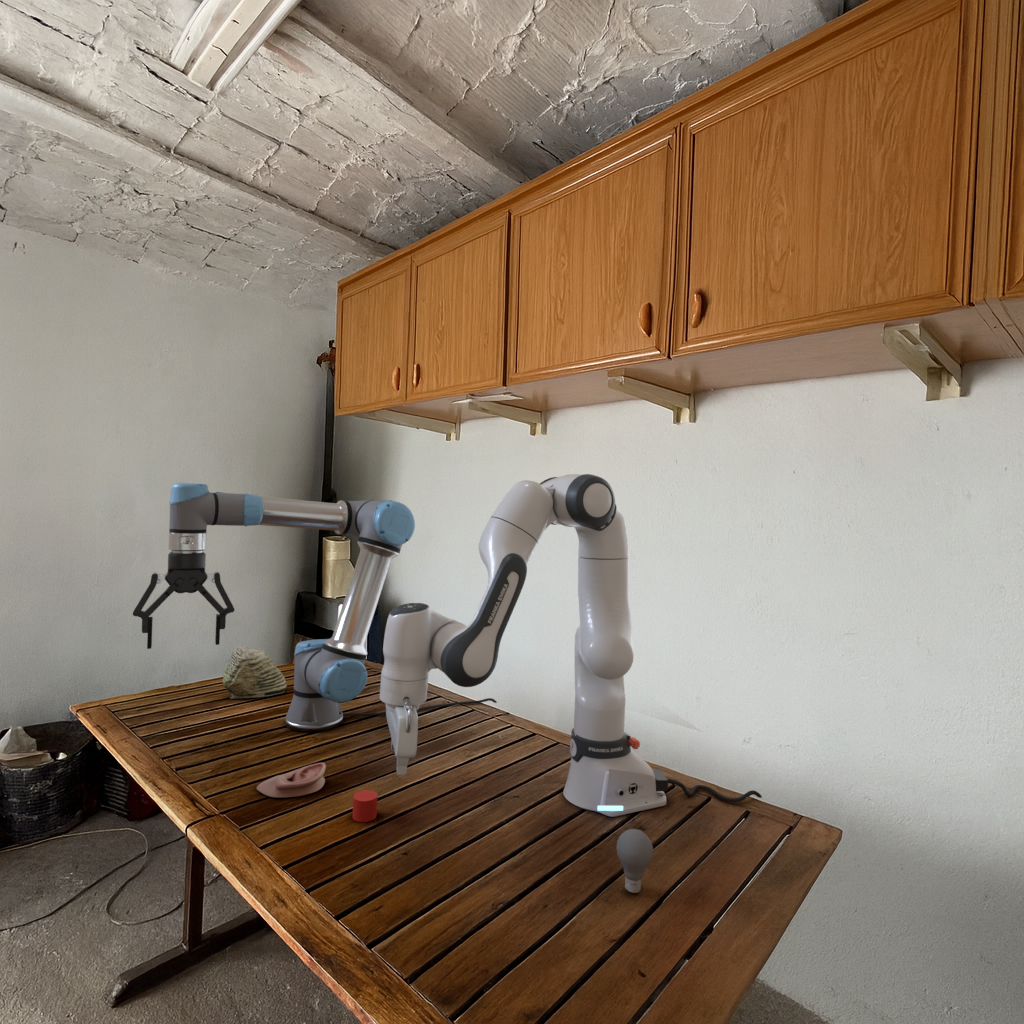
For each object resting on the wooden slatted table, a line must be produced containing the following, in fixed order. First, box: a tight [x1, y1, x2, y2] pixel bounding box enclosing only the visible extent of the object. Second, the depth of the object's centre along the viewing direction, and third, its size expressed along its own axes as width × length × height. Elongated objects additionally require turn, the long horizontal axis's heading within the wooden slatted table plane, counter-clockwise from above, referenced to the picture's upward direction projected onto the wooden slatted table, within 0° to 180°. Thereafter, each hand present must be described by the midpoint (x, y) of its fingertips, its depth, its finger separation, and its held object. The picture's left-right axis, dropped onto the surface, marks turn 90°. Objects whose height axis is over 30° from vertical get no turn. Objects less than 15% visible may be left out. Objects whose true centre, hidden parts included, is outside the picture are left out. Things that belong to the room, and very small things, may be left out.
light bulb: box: [615, 828, 654, 894], centre depth 106 cm, size 6×6×10 cm
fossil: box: [222, 646, 288, 699], centre depth 198 cm, size 9×18×15 cm, turn 132°
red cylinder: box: [352, 789, 378, 823], centre depth 127 cm, size 5×5×4 cm
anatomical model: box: [256, 762, 327, 799], centre depth 137 cm, size 13×4×12 cm
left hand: (184, 645), depth 143 cm, fingers open, 13 cm apart
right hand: (398, 762), depth 120 cm, fingers open, 8 cm apart
